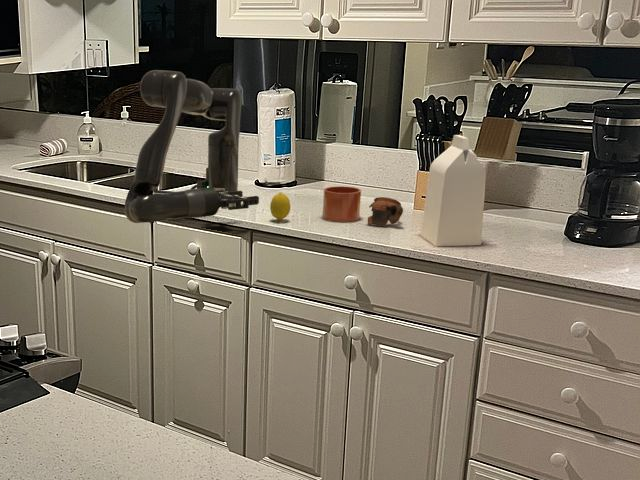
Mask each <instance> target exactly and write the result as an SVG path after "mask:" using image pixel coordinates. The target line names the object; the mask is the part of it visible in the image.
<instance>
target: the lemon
mask: <svg viewBox="0 0 640 480" xmlns="http://www.w3.org/2000/svg"><path fill="white" fill-rule="evenodd" d="M269 209H270V214H271V216H272V217H273V218H274V219H276V220H278V222H281V221H282V220H283V219H285V218H287V217H288V216H289V214H290V212H291V200H290V198H289V197H288V196H287V195H286V194H285V193H283V192H279V193H277V194H275V195H274V196H273V197H272V198H271V201H270V206H269Z"/></svg>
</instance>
